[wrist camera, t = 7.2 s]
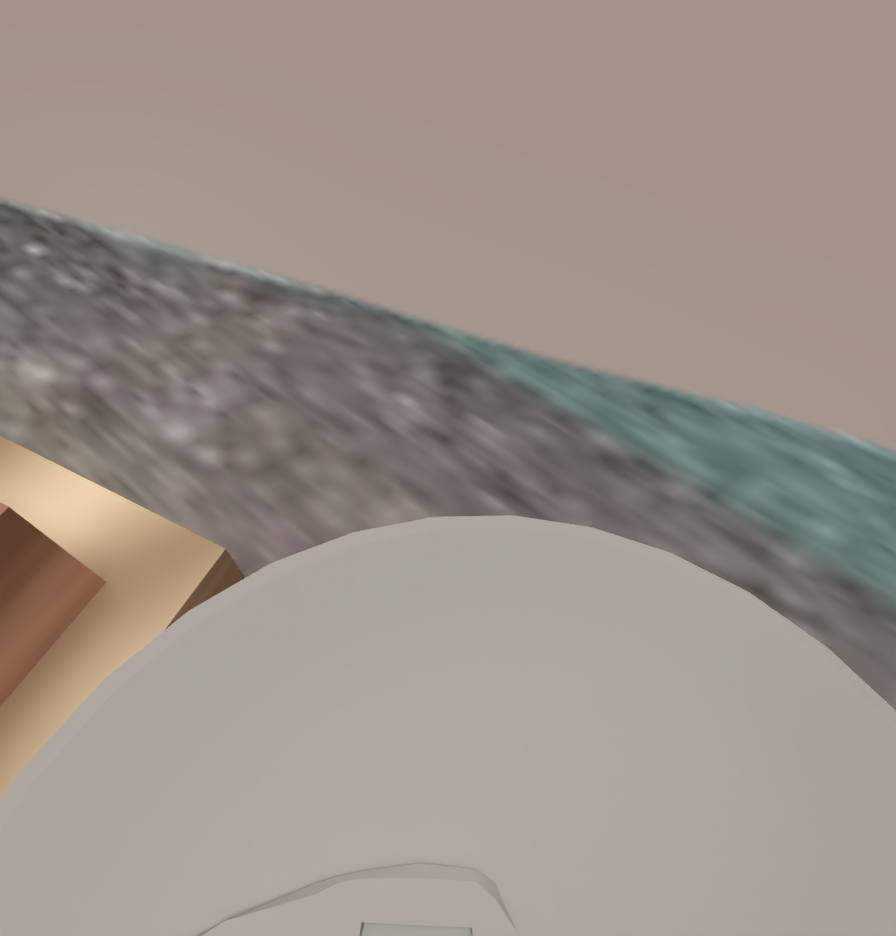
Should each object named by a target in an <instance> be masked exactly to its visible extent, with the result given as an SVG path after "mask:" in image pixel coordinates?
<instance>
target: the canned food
mask: <svg viewBox="0 0 896 936" xmlns="http://www.w3.org/2000/svg"><path fill="white" fill-rule="evenodd" d="M0 936H896V711H895V710H894V709H893V708H892V707H891V706H890V705H889V704H888V703H887V702H886V701H885V700H884V699H883V698H881V697H880V696H879V695H878V694H877V693H876V692H875V691H874V690H873V689H872V688H871V687H870V686H868V685H867V684H866V683H865V682H864V681H863V680H862V679H861V678H860V677H859V676H858V675H857V674H855V673H854V672H853V671H852V670H851V669H850V668H849V667H848V666H847V665H846V664H845V663H844V662H842V661H841V660H840V659H839V658H838V657H837V656H836V655H835V654H834V653H833V652H832V651H831V650H830V649H828V648H827V647H826V646H825V645H823V644H822V643H820V642H819V641H818V640H816V639H815V638H813V637H812V636H810V635H809V634H808V633H806V632H805V631H803V630H802V629H800V628H799V627H798V626H796V625H795V624H793V623H792V622H790V621H789V620H788V619H786V618H785V617H783V616H782V615H780V614H779V613H778V612H776V611H775V610H773V609H772V608H770V607H769V606H768V605H766V604H765V603H763V602H762V601H760V600H759V599H758V598H756V597H755V596H753V595H752V594H750V593H749V592H747V591H745V590H743V589H741V588H739V587H737V586H735V585H733V584H731V583H729V582H727V581H725V580H723V579H721V578H719V577H718V576H716V575H714V574H712V573H710V572H708V571H706V570H704V569H702V568H700V567H698V566H696V565H694V564H692V563H690V562H688V561H686V560H684V559H682V558H680V557H678V556H676V555H674V554H672V553H670V552H667V551H663V550H660V549H657V548H654V547H651V546H648V545H645V544H642V543H639V542H636V541H632V540H629V539H626V538H623V537H620V536H617V535H614V534H611V533H608V532H605V531H602V530H598V529H595V528H592V527H586V526H579V525H573V524H566V523H560V522H553V521H546V520H540V519H533V518H527V517H520V516H513V515H512V516H458V517H431V518H426V519H420V520H415V521H410V522H405V523H399V524H394V525H389V526H384V527H379V528H373V529H368V530H363V531H358V532H353V533H350V534H348V535H345V536H342V537H340V538H337V539H334V540H332V541H329V542H326V543H324V544H321V545H318V546H316V547H313V548H310V549H308V550H305V551H302V552H300V553H297V554H294V555H292V556H289V557H286V558H284V559H281V560H278V561H276V562H273V563H271V564H269V565H267V566H265V567H264V568H262V569H260V570H259V571H257V572H255V573H253V574H252V575H250V576H248V577H246V578H245V579H243V580H241V581H239V582H238V583H236V584H234V585H233V586H231V587H229V588H227V589H226V590H224V591H222V592H220V593H219V594H217V595H215V596H213V597H212V598H210V599H208V600H206V601H205V602H203V603H201V604H200V605H198V606H196V607H194V608H193V609H191V610H189V611H188V612H186V613H185V614H184V615H183V616H182V617H180V618H179V619H178V620H177V621H175V622H174V623H173V624H172V625H170V626H169V627H168V628H167V629H165V630H164V631H163V632H162V633H161V634H159V635H158V636H157V637H156V638H154V639H153V640H152V641H151V642H149V643H148V644H147V645H146V646H144V647H143V648H142V649H141V650H140V651H138V652H137V653H136V654H135V655H133V656H132V657H131V658H130V659H128V660H127V661H126V662H125V663H123V664H122V665H121V666H120V667H118V668H117V669H116V670H115V671H114V672H112V673H111V674H110V675H109V676H107V677H106V678H105V679H104V680H103V681H102V682H101V683H100V684H99V685H98V686H97V687H96V689H95V690H94V691H93V692H92V693H91V694H90V695H89V696H88V697H87V698H86V699H85V701H84V702H83V703H82V704H81V705H80V706H79V707H78V708H77V709H76V710H75V711H74V713H73V714H72V715H71V716H70V717H69V718H68V719H67V720H66V721H65V722H64V723H63V725H62V726H61V727H60V728H59V729H58V730H57V731H56V732H55V733H54V734H53V735H52V737H51V738H50V739H49V740H48V741H47V742H46V743H45V744H44V745H43V746H42V747H41V749H40V750H39V751H38V752H37V753H36V754H35V755H34V756H33V757H32V758H31V759H30V761H29V762H28V763H27V764H26V765H25V766H24V767H23V768H22V769H21V770H20V771H19V773H18V774H17V776H16V777H15V779H14V780H13V782H12V783H11V784H10V786H9V787H8V789H7V790H6V792H5V793H4V795H3V796H2V798H1V799H0Z"/></svg>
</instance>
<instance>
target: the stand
mask: <svg viewBox="0 0 896 936" xmlns="http://www.w3.org/2000/svg"><path fill="white" fill-rule="evenodd" d="M243 577H244V576H243V574H242V573H241V571H240V570H239V568H238V567H237V565H236V564H235V562H234V561H233V559H232V558H231V556H230V555H229V553H228V552H227V550H226V549H225V548H223V547H221V546H219V545H217V544H215V543H213V542H211V541H209V540H207V539H205V538H203V537H201V536H199V535H197V534H195V533H193V532H191V531H189V530H187V529H185V528H183V527H181V526H179V525H177V524H175V523H173V522H171V521H169V520H167V519H165V518H163V517H161V516H159V515H157V514H155V513H153V512H151V511H149V510H147V509H145V508H143V507H141V506H139V505H137V504H135V503H133V502H131V501H129V500H127V499H125V498H123V497H121V496H119V495H117V494H115V493H113V492H111V491H109V490H107V489H105V488H103V487H101V486H99V485H97V484H95V483H93V482H91V481H89V480H87V479H85V478H83V477H81V476H79V475H77V474H75V473H73V472H71V471H69V470H67V469H65V468H63V467H61V466H59V465H57V464H56V463H54V462H52V461H50V460H48V459H46V458H44V457H42V456H40V455H38V454H36V453H34V452H32V451H30V450H28V449H26V448H24V447H22V446H20V445H18V444H16V443H14V442H12V441H10V440H8V439H6V438H4V437H2V436H0V799H1V798H2V796H3V795H4V793H5V792H6V790H7V789H8V787H9V786H10V784H11V783H12V782H13V780H14V779H15V777H16V776H17V774H18V773H19V771H20V770H21V769H22V768H23V767H24V766H25V765H26V764H27V763H28V762H29V761H30V759H31V758H32V757H33V756H34V755H35V754H36V753H37V752H38V751H39V750H40V749H41V747H42V746H43V745H44V744H45V743H46V742H47V741H48V740H49V739H50V738H51V737H52V735H53V734H54V733H55V732H56V731H57V730H58V729H59V728H60V727H61V726H62V725H63V723H64V722H65V721H66V720H67V719H68V718H69V717H70V716H71V715H72V714H73V713H74V711H75V710H76V709H77V708H78V707H79V706H80V705H81V704H82V703H83V702H84V701H85V699H86V698H87V697H88V696H89V695H90V694H91V693H92V692H93V691H94V690H95V689H96V687H97V686H98V685H99V684H100V683H101V682H102V681H103V680H104V679H105V678H106V677H107V676H109V675H110V674H111V673H112V672H114V671H115V670H116V669H117V668H118V667H120V666H121V665H122V664H123V663H125V662H126V661H127V660H128V659H130V658H131V657H132V656H133V655H135V654H136V653H137V652H138V651H140V650H141V649H142V648H143V647H144V646H146V645H147V644H148V643H149V642H151V641H152V640H153V639H154V638H156V637H157V636H158V635H159V634H161V633H162V632H163V631H164V630H165V629H167V628H168V627H169V626H170V625H172V624H173V623H174V622H175V621H177V620H178V619H179V618H180V617H182V616H183V615H184V614H185V613H186V612H188V611H189V610H191V609H193V608H194V607H196V606H198V605H200V604H201V603H203V602H205V601H206V600H208V599H210V598H212V597H213V596H215V595H217V594H219V593H220V592H222V591H224V590H226V589H227V588H229V587H231V586H233V585H234V584H236V583H238V582H239V581H241V580H242V578H243Z"/></svg>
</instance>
